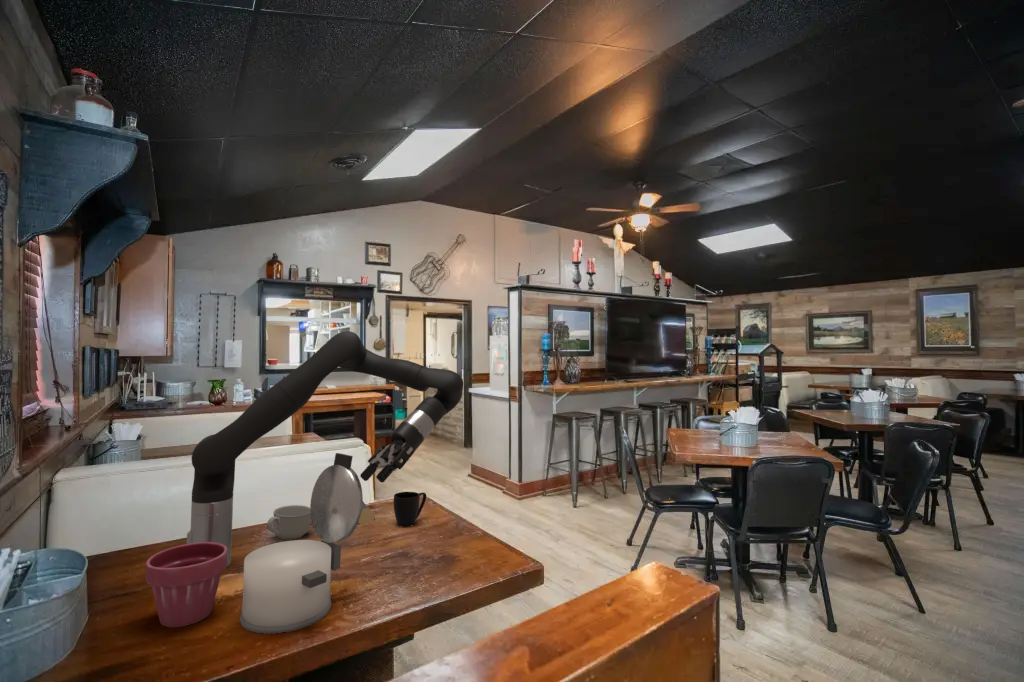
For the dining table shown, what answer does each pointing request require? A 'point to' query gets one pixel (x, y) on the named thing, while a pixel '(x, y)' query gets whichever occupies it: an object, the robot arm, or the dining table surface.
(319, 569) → the oval food canister
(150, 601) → the dining table surface
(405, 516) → the mug
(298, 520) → the teacup
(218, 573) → the plant pot
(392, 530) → the dining table surface
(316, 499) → the lid
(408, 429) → the robot arm
